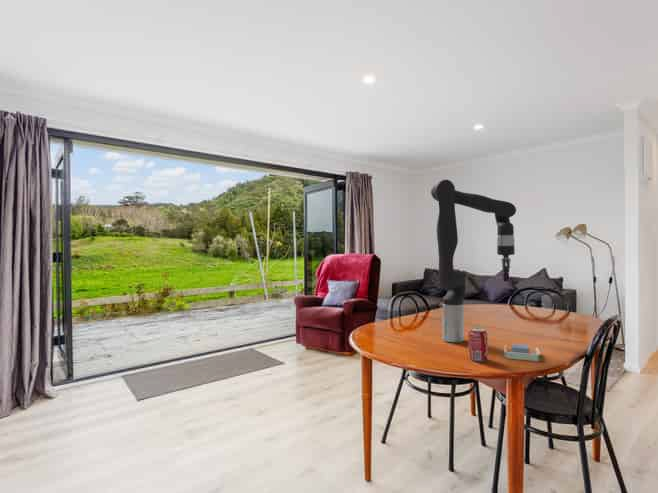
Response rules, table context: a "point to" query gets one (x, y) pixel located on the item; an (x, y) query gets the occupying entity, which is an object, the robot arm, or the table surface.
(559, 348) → the table surface
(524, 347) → the pale blue cube
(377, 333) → the table surface
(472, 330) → the soda can
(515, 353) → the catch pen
